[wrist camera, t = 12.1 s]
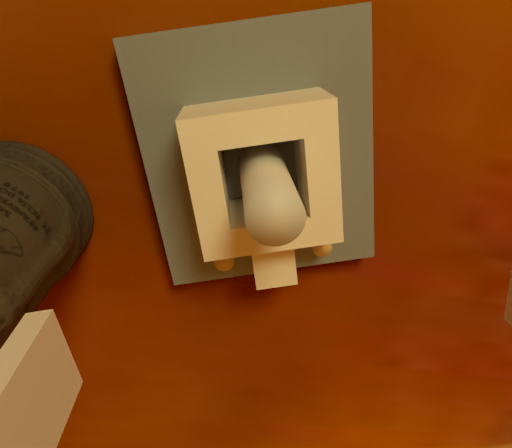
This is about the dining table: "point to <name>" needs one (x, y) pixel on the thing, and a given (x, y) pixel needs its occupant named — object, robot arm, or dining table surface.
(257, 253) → the square ring
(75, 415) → the dining table surface
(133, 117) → the post board
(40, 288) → the beer stein
